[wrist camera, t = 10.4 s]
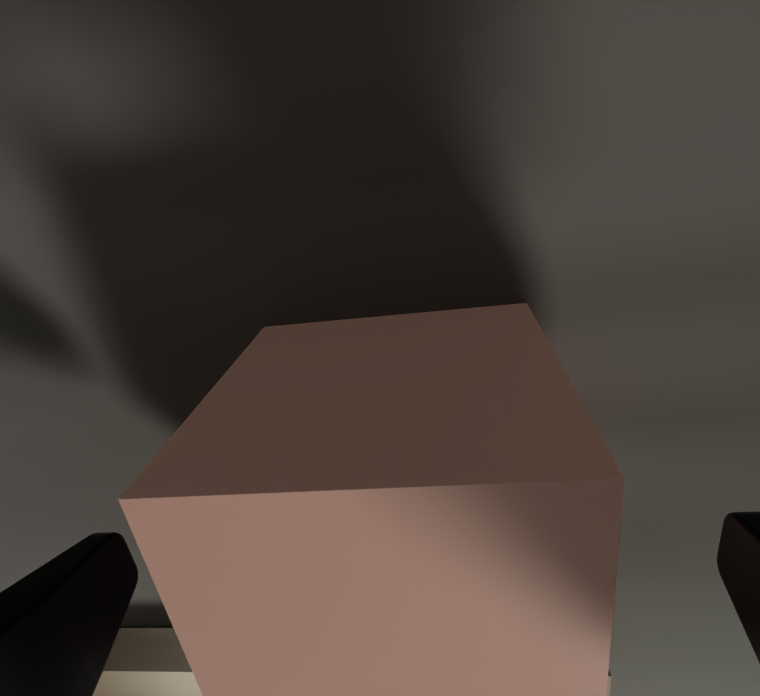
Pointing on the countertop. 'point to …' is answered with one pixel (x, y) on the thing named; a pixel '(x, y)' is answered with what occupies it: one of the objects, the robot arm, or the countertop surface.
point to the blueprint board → (153, 666)
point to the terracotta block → (388, 515)
